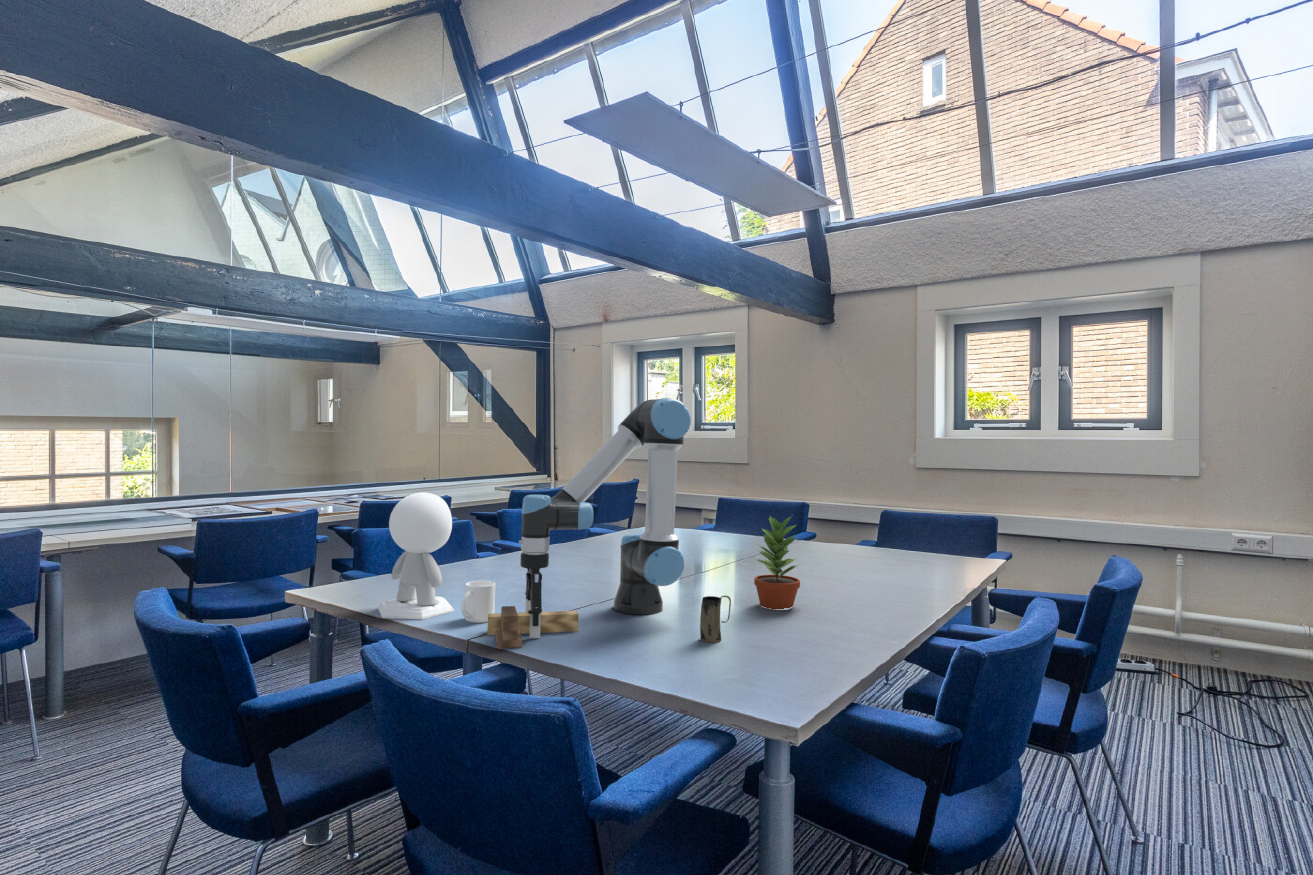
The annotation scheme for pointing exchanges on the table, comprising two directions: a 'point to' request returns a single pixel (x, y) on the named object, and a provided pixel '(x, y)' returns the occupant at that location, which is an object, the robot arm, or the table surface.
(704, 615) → the mug
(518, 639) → the fulcrum
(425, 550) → the big headed doll
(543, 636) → the table surface
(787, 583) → the potted plant
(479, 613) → the mug
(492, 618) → the oak bar
